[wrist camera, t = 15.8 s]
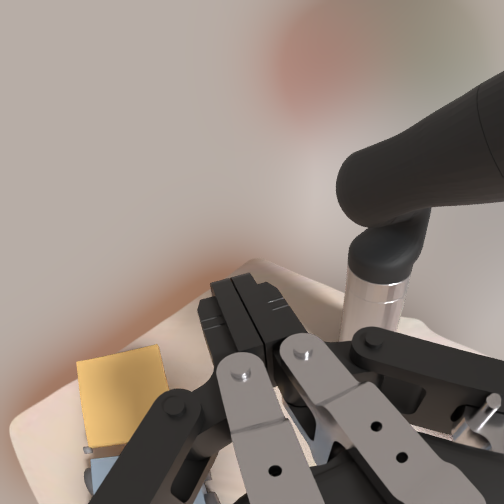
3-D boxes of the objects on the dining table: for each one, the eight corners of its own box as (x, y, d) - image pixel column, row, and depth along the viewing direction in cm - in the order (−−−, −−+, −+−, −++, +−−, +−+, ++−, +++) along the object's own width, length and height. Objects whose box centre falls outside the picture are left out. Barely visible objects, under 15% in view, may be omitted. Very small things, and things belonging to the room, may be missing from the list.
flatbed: (229, 528, 26) (223, 523, 24) (108, 543, 23) (91, 538, 20) (204, 453, 36) (196, 440, 34) (97, 471, 33) (83, 459, 30)
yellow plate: (188, 435, 34) (163, 342, 42) (83, 453, 30) (70, 362, 39) (190, 437, 35) (166, 346, 43) (88, 454, 32) (75, 366, 40)
